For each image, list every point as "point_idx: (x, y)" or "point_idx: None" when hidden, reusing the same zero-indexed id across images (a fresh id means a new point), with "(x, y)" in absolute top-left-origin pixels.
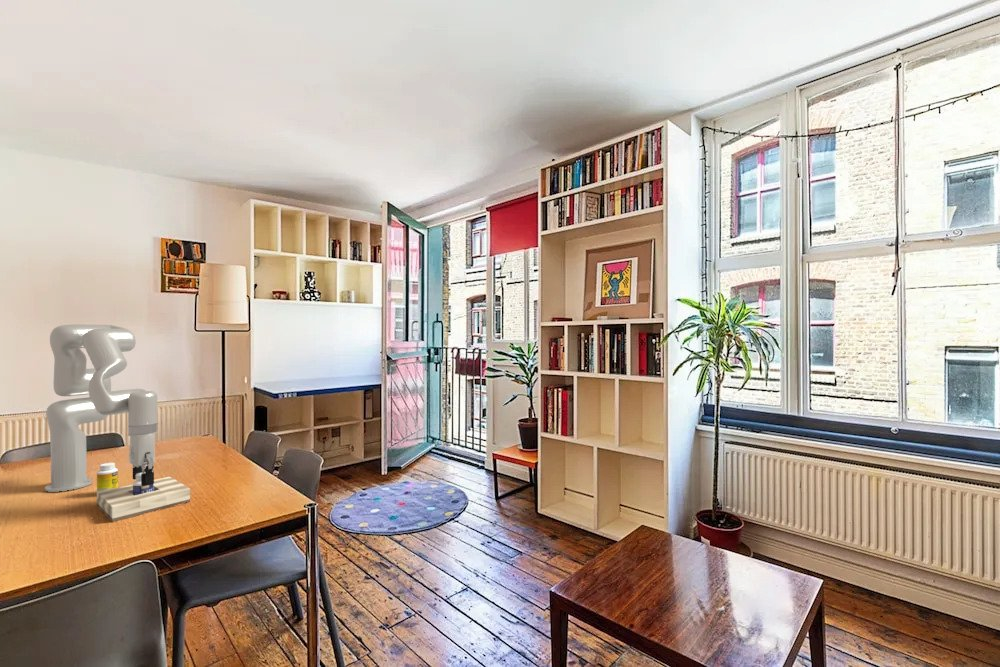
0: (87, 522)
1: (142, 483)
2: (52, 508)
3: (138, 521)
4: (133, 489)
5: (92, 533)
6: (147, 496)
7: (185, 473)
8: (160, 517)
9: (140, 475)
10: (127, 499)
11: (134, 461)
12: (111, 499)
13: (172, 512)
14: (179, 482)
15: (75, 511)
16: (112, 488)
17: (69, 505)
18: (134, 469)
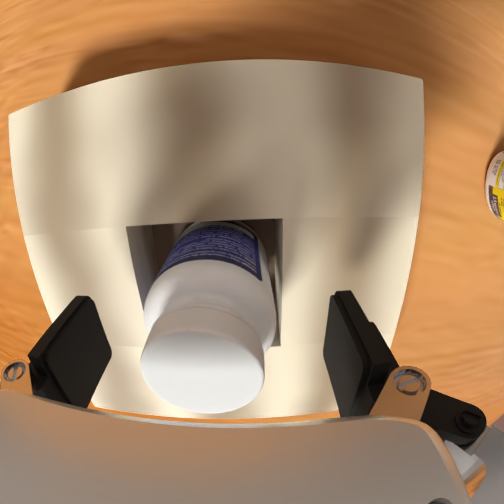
0: (132, 24)
1: (71, 307)
2: (463, 5)
3: (10, 198)
4: (202, 246)
5: (6, 66)
6: (63, 277)
7: (456, 394)
8: (12, 261)
9: (145, 352)
10: (70, 185)
11: (9, 454)
12: (143, 101)
13: (37, 301)
14: (223, 417)
15: (367, 13)
16: (500, 198)
17: (464, 42)
18: (355, 359)
